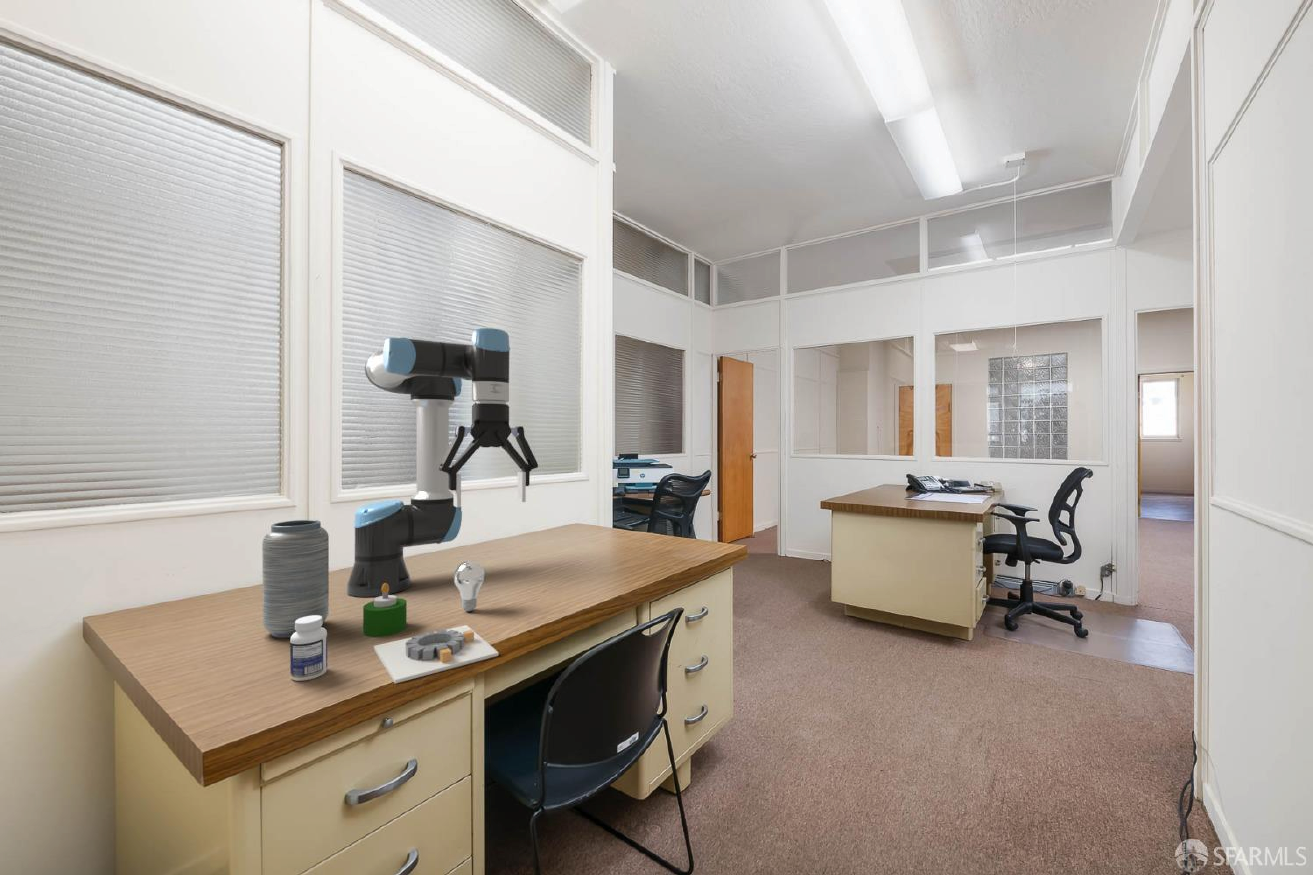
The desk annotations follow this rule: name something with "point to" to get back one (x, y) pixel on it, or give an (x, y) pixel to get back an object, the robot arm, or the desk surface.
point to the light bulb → (469, 583)
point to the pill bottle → (308, 649)
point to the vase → (294, 575)
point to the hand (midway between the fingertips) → (490, 504)
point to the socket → (433, 652)
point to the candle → (384, 615)
